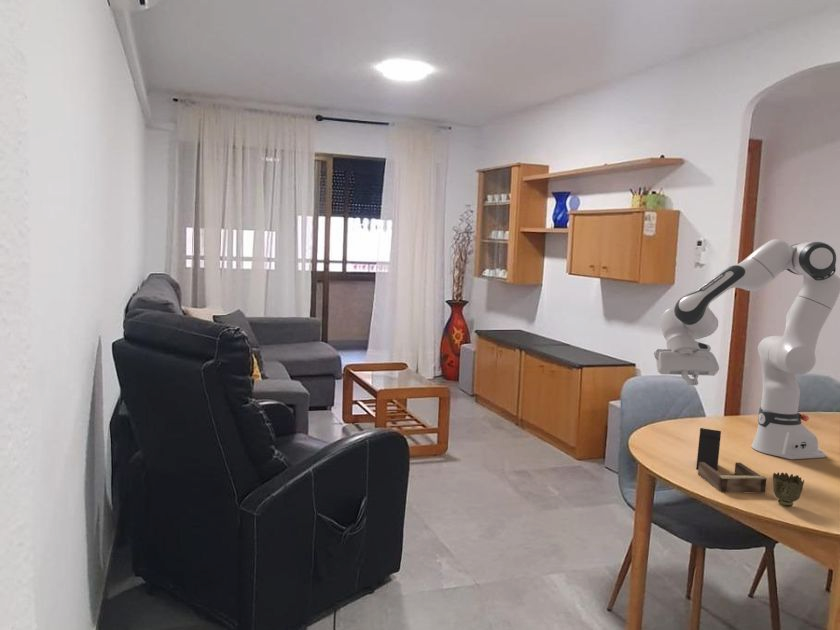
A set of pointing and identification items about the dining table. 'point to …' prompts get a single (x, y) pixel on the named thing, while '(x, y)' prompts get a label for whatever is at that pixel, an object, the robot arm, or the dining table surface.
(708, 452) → the phone stand
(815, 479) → the dining table surface
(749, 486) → the frame
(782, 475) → the cup
